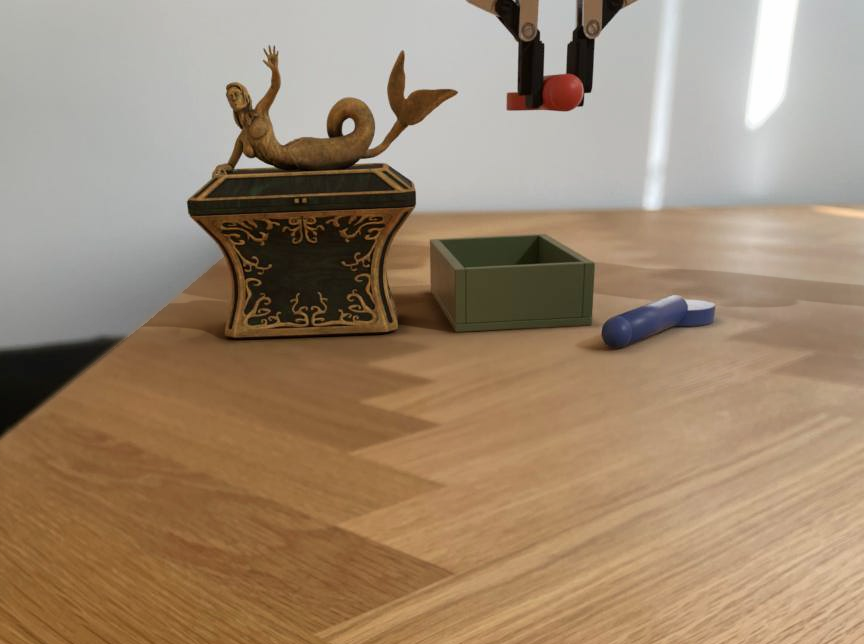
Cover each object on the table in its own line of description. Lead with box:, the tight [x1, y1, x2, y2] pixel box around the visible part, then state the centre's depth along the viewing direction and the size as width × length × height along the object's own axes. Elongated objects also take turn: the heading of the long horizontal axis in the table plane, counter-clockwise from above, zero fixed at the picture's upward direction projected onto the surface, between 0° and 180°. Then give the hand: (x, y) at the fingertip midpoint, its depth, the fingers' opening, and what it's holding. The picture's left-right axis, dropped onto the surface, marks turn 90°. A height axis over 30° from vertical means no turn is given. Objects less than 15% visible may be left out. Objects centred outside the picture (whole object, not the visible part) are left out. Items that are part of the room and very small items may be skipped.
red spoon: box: [505, 73, 583, 113], centre depth 74 cm, size 14×5×2 cm, turn 2°
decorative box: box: [186, 44, 459, 340], centre depth 79 cm, size 20×10×20 cm, turn 90°
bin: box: [429, 233, 596, 333], centre depth 88 cm, size 11×19×5 cm, turn 4°
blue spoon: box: [600, 294, 716, 350], centre depth 77 cm, size 14×5×2 cm, turn 142°
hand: (553, 104), depth 73 cm, fingers closed on red spoon, 2 cm apart
